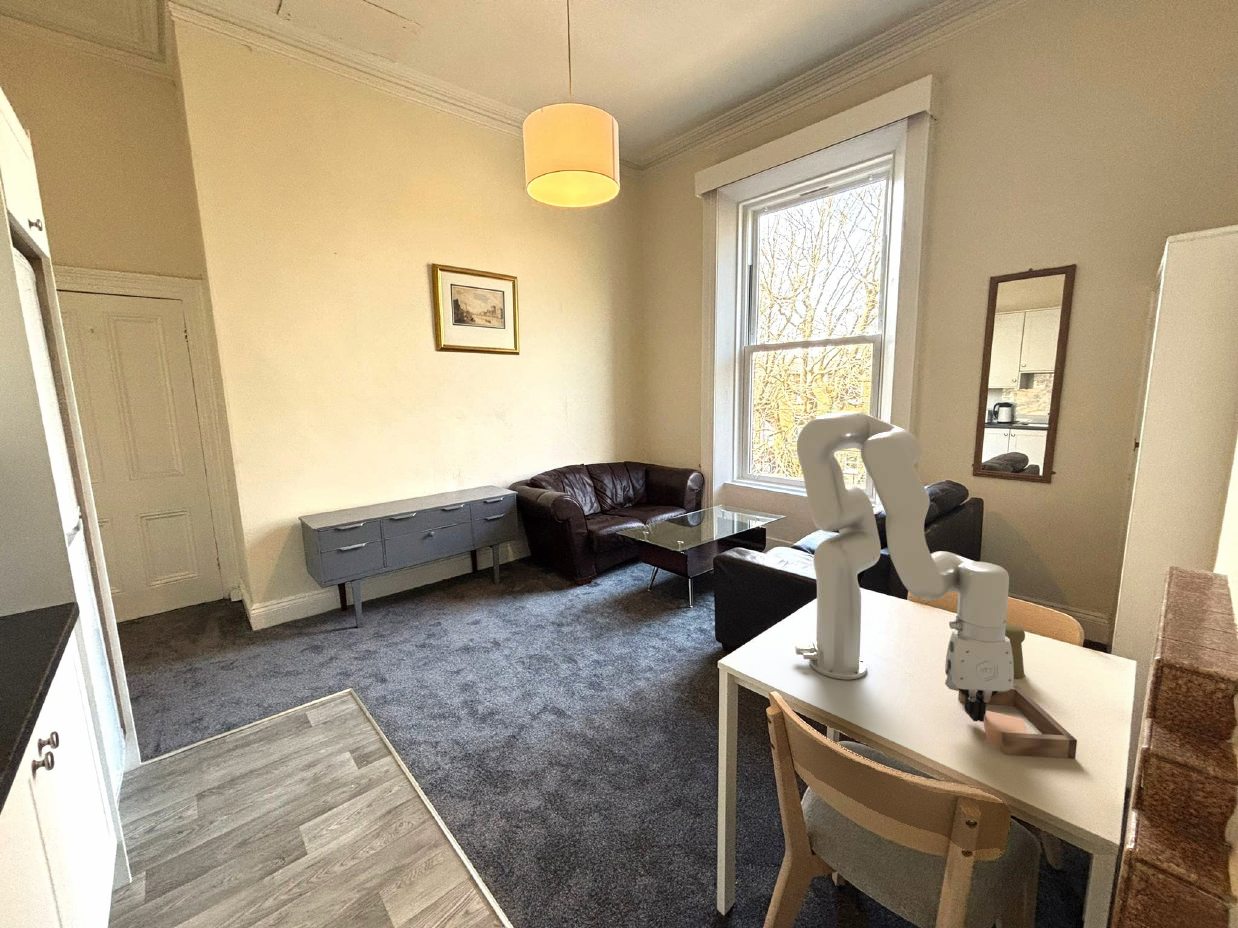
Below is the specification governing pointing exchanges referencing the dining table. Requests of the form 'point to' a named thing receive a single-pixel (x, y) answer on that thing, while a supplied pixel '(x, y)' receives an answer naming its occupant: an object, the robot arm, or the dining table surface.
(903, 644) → the dining table surface
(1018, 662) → the cork
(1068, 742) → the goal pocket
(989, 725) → the terracotta block
